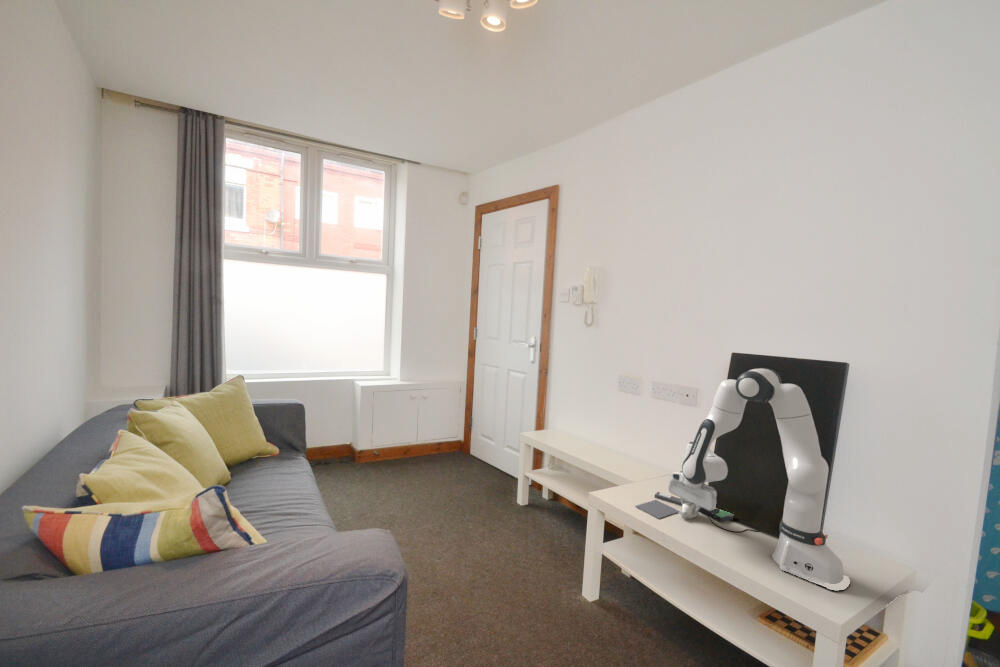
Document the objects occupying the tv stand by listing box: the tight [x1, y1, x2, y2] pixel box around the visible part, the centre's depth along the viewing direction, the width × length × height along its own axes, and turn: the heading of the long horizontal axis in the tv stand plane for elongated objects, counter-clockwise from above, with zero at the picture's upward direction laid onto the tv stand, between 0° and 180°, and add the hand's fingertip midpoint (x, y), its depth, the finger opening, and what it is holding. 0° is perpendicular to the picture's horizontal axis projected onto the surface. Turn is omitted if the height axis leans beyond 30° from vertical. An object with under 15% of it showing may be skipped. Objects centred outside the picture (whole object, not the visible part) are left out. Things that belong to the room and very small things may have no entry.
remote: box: [653, 491, 689, 507], centre depth 206 cm, size 15×4×2 cm, turn 55°
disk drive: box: [698, 507, 734, 524], centre depth 197 cm, size 10×3×15 cm
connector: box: [678, 502, 698, 520], centre depth 192 cm, size 4×11×5 cm, turn 125°
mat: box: [634, 499, 679, 520], centre depth 196 cm, size 12×14×1 cm
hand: (689, 511), depth 192 cm, fingers closed on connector, 3 cm apart
